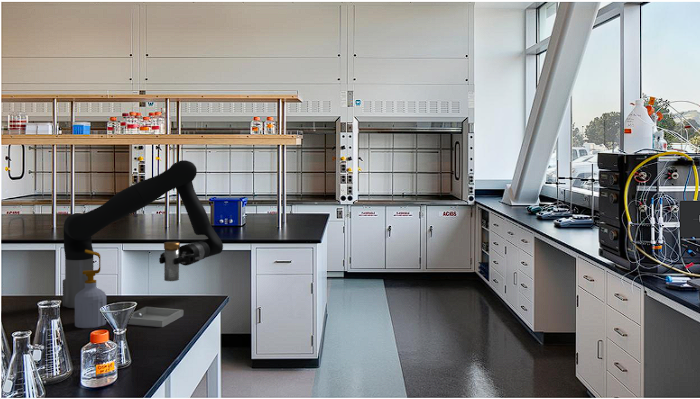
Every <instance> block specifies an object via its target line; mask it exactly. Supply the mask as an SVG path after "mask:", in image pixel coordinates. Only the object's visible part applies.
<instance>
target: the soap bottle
mask: <svg viewBox="0 0 700 399" xmlns="http://www.w3.org/2000/svg"><path fill="white" fill-rule="evenodd" d="M85 253H89V254H92V255H93V256H97V257H98V269H93V270H88V271H83V274H86V276H88V280H86V281H85V288H84V289H83V290H81V291H80V292H78V293H77V294H76V296H75V308H74V327H76V328H81V329H93V328H98V327H101V326H102V327H103V326H105V325H106V324H107V319H106V320H105V318H104V317H103V315H102V314H101V313H100V311H99V309H100V308H101V307H103V306H105V305H106V306H107V294H106V293H105V292H106V291H104V290H102V289H101V288H98V287H97V279H94V278H95V276H96V275H97V274H99V273H100V272H101V254H100V253H99V252H98V251H97V252H96V251H94V250H93V251H90V250H85Z"/></svg>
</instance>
